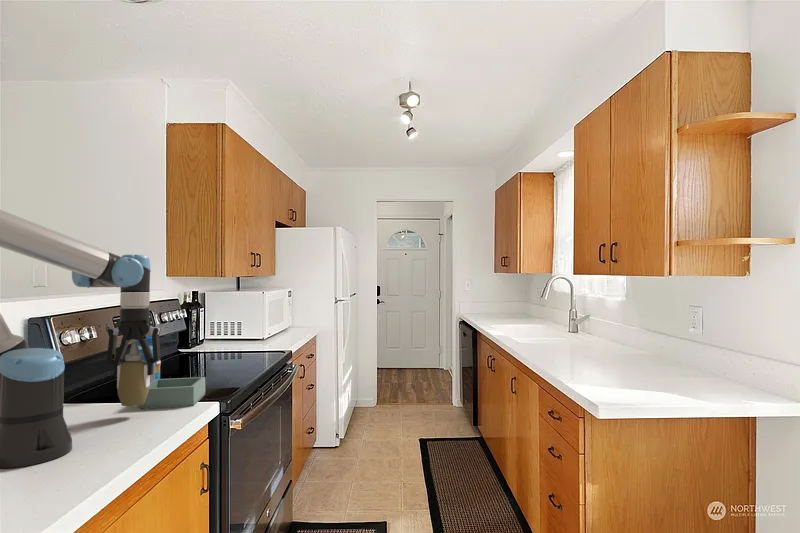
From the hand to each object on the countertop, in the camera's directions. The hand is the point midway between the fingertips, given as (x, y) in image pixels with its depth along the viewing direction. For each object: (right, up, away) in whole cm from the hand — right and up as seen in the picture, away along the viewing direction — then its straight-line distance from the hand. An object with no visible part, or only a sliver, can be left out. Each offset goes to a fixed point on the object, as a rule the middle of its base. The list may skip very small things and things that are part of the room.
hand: (133, 387), depth 138 cm
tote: (+3, -9, +18) cm, 20 cm away
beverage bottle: (-12, -10, +30) cm, 34 cm away
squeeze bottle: (0, -5, 0) cm, 5 cm away
